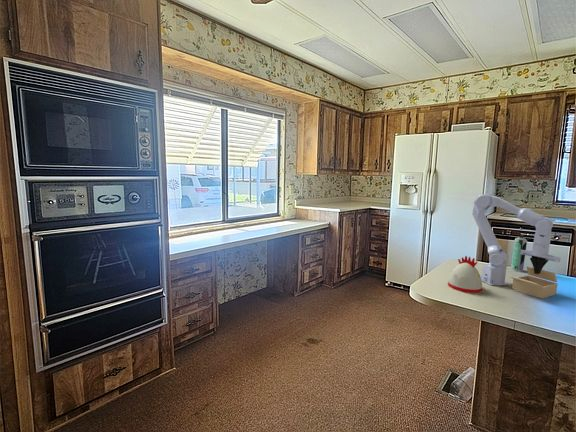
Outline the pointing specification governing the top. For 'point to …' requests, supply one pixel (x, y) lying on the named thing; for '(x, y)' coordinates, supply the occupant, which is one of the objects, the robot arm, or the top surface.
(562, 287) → the top surface
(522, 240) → the spray can
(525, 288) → the carton
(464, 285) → the kitchen timer
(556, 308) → the top surface
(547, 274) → the far flap
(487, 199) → the robot arm
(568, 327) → the top surface
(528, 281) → the near flap
